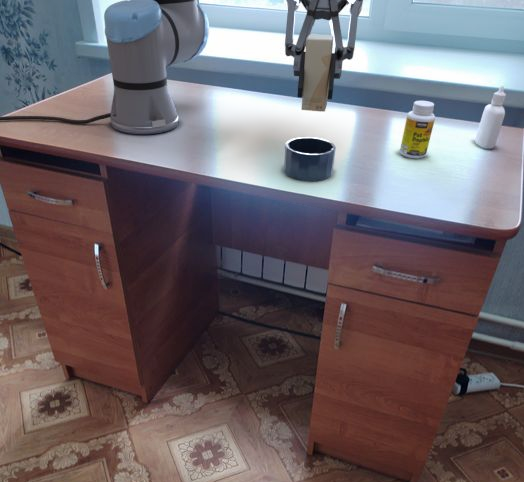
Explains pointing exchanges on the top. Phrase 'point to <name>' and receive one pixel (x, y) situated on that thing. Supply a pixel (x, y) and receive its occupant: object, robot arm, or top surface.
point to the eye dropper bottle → (491, 121)
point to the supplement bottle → (418, 130)
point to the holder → (309, 158)
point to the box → (317, 72)
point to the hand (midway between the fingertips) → (315, 93)
